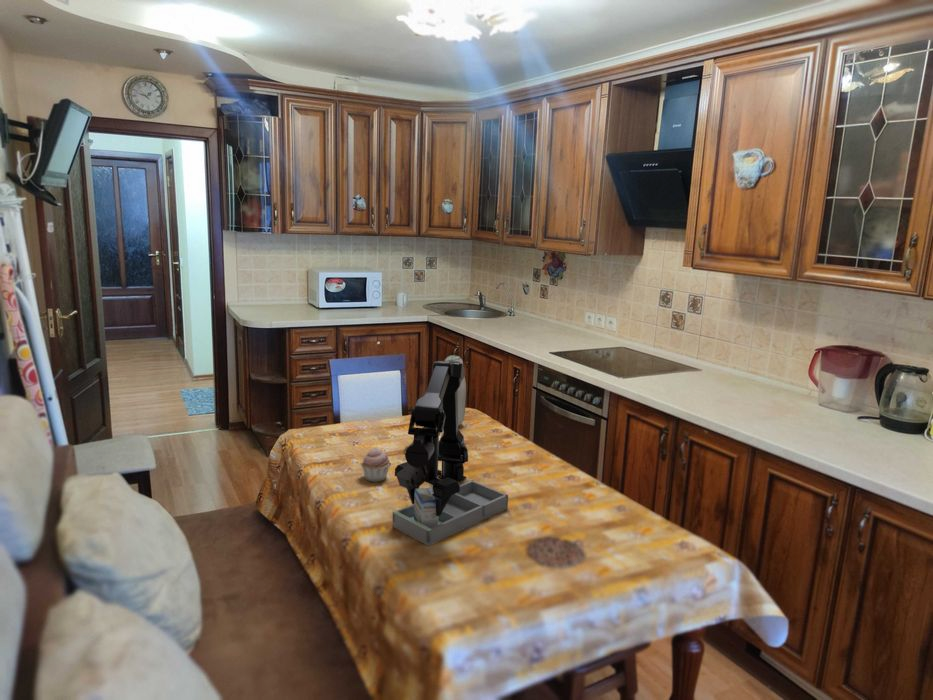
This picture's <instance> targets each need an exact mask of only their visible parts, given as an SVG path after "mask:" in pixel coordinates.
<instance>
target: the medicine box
mask: <svg viewBox="0 0 933 700" xmlns="http://www.w3.org/2000/svg"><path fill="white" fill-rule="evenodd" d="M432 494H434V492H433V490H432V488H431V487H428V486H426V487H419V488H417V489H415V494H414V520H415V521H417V522H419V523H421V524H423V525H425V526H427V527H429V528H432V527H434V526H436V525H438V517H439V516H436V499H435V497H434V496H432Z"/></svg>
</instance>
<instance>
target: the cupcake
mask: <svg viewBox="0 0 933 700" xmlns="http://www.w3.org/2000/svg"><path fill="white" fill-rule="evenodd" d="M389 459H390V458H389V457H388V455H387V454H386V452H384V451H382V450H380V449H379V448H378V447H377V446H375V447H373V448H371V449H370V450H369V451H368V452H367V454H365V456H364V458H363V460H362V462H360V466H361V468H362V470H363V474H364V478H365V480H366V481H368V482H371V483H372V482H373V483H378V482H379V483H380V482H383V481H384V480H385V481H386V479H387V475H388V473H389V469H390V467H391V466H392V462H390V460H389Z"/></svg>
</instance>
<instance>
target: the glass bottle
mask: <svg viewBox="0 0 933 700" xmlns="http://www.w3.org/2000/svg"><path fill="white" fill-rule="evenodd" d="M444 361H448V362H460V363H461V364H463V365H464V361H463V359H462V358H461V357H460V355H459V356H458V355H455V354H453V355H449V356H447V357H446V358H445V359H444ZM466 398H467V384H466V378H465V376H464V378H463V380H462V382H461V385H460V387H459V388H458V427H459V426H460V425H462V424H463V422H464V420H465V415H466V401H467V400H466ZM442 407H443V402H442Z"/></svg>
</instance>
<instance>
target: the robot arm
mask: <svg viewBox="0 0 933 700" xmlns="http://www.w3.org/2000/svg"><path fill="white" fill-rule="evenodd" d="M465 369H466V368H465V366H464V363H463V364H461V363H460V362H448V361H445V360H437V361H434V362H433V363H432V370H431V376H430V380H429V383H428V385H427V388H426V391H425V393H424V395H423V396H421V397H419V398H418V399H417V401H416V403H415V405H414V407H412V409H411V414H410V419H409V424H408V429H407V435H411V436H413V440H412V442H411V443H410V445H408V447H407V449H406V450H405V453H404V457H405V462H403V463H399V464H397V465H396V467H395V468H394V476H395V478H396V479H397V482H398V484H399V486H400V487H403V488H405V489H406V490H407V493H408V495H409V498H410V502H411V505H412V504H414V494H415V489H417V488H420V486H423V484H424V483H427V484H429V485H432V488H431V490H432V491H433V493H434V494H432V496H434V497H435V499H436V516H440V515H441V513H442V511H443V509H444V507H445V506H446V504H447V502H448V500H449V499H450V497H451V496H452V495H453V494H455V493H458V492H460V485H461V483H460V482H461V481H463V480H466V479H467V476H466V475H464V471H465V468H464V467H465V466H464V464H466V463H467V462H469V452H468V451H469V449H468V448H467V444H466V443H465V436H464V434H462V433H461V431H460V430H459V426H458V388H459V387H460V385H461V382H462V380H463V378H464V377H465V373H466V370H465ZM442 402H443V407H442ZM439 437H440V438H439ZM439 462H441V470H440V469H439Z"/></svg>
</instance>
